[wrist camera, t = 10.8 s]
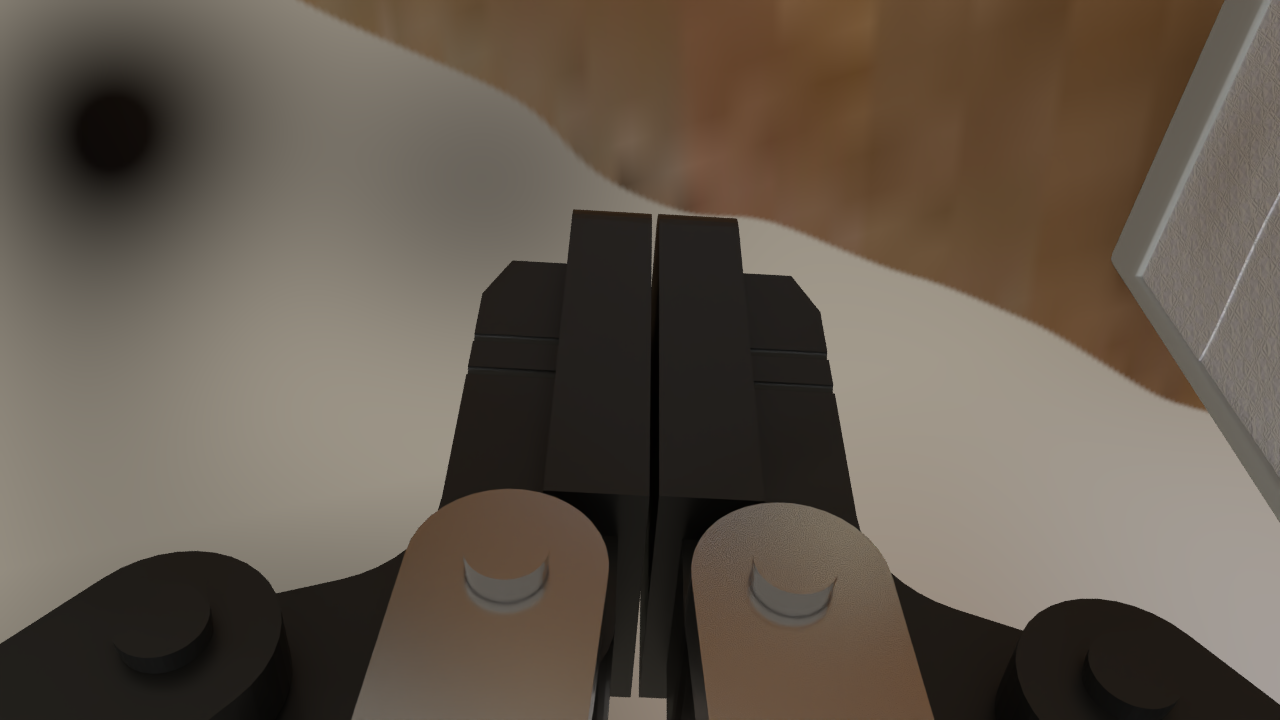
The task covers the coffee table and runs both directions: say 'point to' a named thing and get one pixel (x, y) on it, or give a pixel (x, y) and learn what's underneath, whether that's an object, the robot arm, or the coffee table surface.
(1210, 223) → the red rounded-top case
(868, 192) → the coffee table surface
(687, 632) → the robot arm
